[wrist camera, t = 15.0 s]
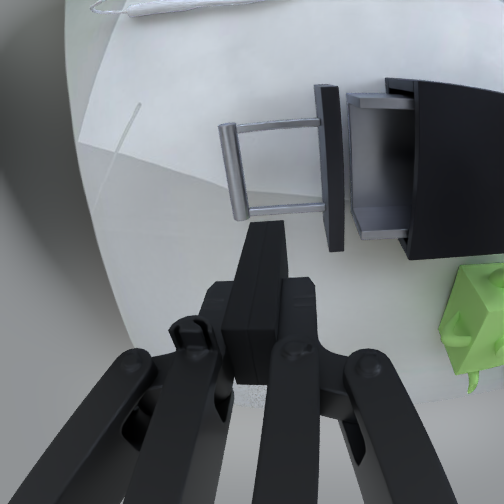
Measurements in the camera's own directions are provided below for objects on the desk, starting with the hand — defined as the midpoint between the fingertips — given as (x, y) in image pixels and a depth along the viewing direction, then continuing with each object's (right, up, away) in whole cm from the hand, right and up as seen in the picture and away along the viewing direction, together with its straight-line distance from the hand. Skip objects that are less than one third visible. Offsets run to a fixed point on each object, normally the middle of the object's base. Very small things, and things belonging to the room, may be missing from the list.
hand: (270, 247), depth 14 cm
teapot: (+28, -5, +18) cm, 34 cm away
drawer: (+8, +8, +11) cm, 16 cm away
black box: (+19, +10, +10) cm, 24 cm away
